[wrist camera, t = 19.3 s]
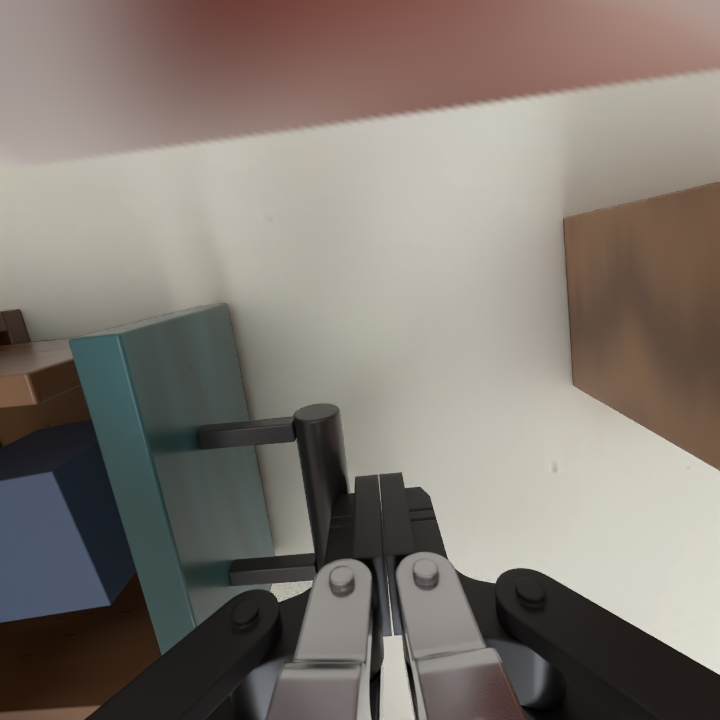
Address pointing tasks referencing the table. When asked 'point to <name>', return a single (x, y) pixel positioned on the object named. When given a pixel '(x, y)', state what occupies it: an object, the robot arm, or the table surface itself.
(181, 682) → the robot arm
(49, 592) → the block
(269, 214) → the table surface
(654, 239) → the cube
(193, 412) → the drawer
